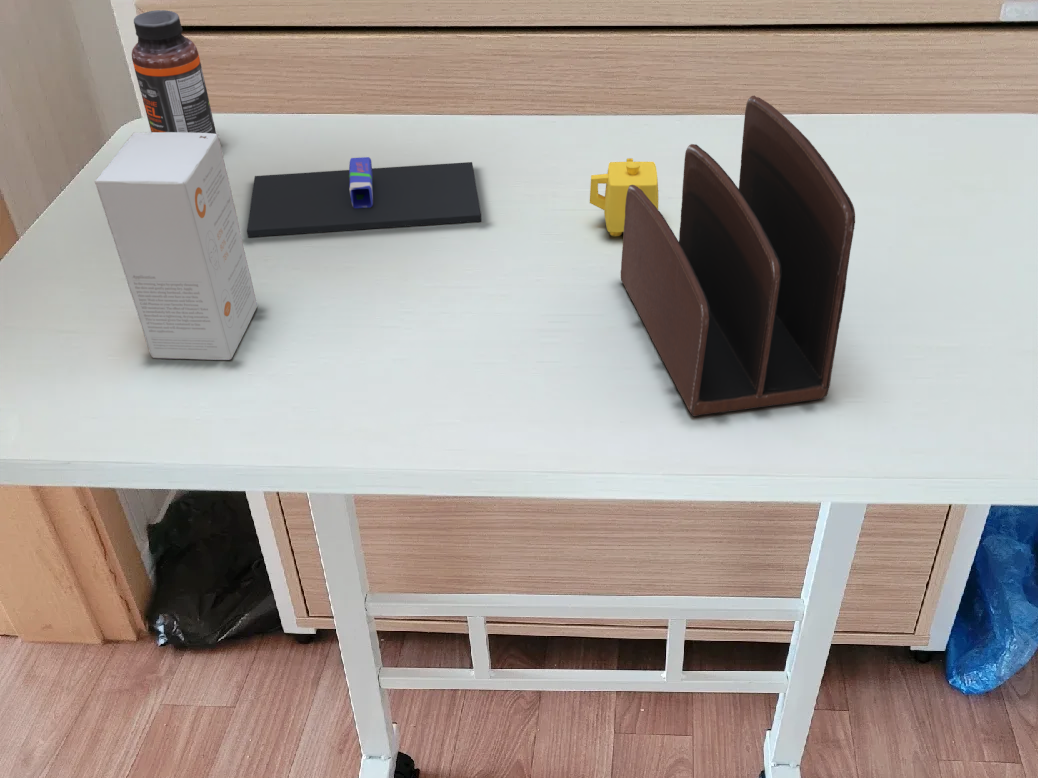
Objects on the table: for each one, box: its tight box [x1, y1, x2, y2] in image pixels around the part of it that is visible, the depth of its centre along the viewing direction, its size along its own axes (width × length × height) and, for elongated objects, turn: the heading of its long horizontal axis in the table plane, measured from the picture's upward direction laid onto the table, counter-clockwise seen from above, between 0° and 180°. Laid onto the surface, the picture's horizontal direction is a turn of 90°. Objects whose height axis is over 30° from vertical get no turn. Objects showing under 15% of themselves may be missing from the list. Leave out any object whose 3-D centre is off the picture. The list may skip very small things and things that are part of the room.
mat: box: [246, 161, 482, 238], centre depth 99 cm, size 20×11×1 cm, turn 96°
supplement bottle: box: [131, 9, 217, 134], centre depth 103 cm, size 6×6×11 cm
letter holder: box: [620, 95, 856, 417], centre depth 77 cm, size 10×20×14 cm, turn 12°
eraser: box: [348, 156, 373, 208], centre depth 98 cm, size 2×6×2 cm, turn 6°
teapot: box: [589, 157, 659, 237], centre depth 93 cm, size 8×6×5 cm
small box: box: [94, 131, 259, 361], centre depth 80 cm, size 8×6×13 cm
